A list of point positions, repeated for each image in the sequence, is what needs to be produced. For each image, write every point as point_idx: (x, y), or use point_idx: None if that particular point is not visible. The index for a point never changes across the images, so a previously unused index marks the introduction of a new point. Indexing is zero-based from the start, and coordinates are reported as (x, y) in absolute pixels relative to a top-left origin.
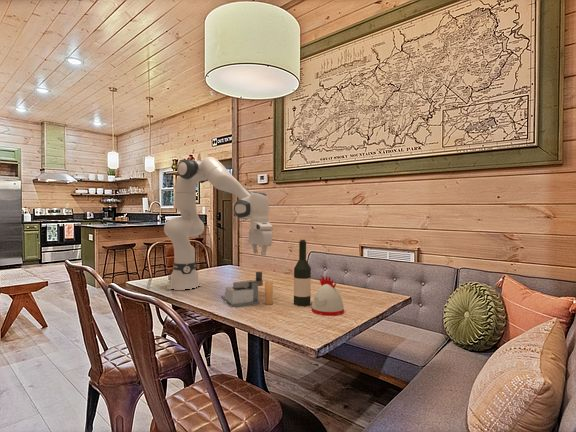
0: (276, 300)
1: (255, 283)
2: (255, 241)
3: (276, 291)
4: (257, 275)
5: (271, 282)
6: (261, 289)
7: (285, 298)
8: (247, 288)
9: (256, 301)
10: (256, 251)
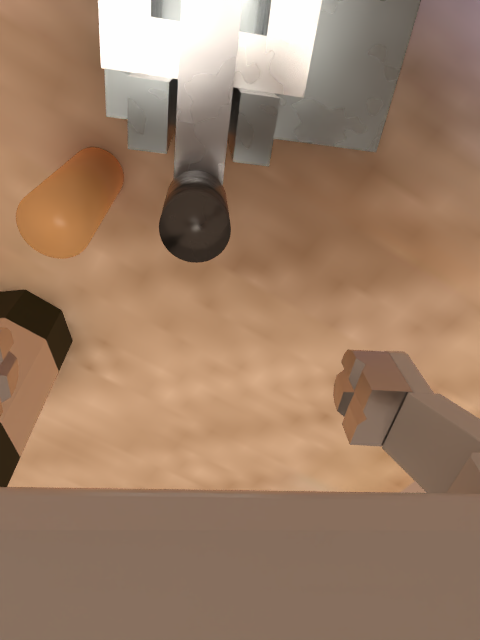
0: (151, 256)
1: (129, 119)
2: (227, 603)
3: (329, 353)
4: (176, 190)
5: (41, 242)
6: (427, 312)
7: (167, 318)
8: (162, 33)
9: (120, 93)
10: (351, 401)
